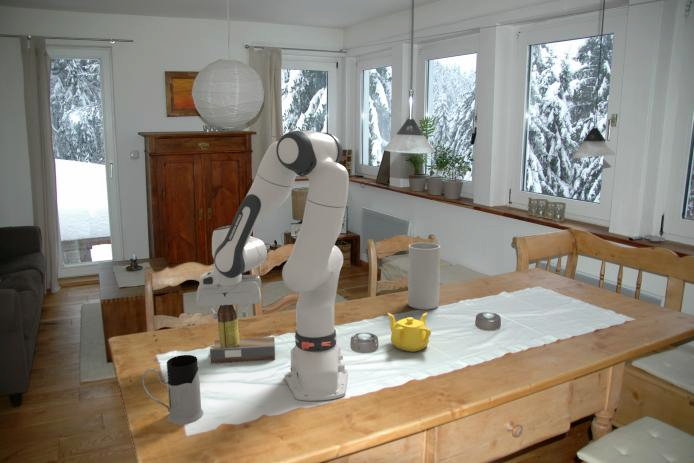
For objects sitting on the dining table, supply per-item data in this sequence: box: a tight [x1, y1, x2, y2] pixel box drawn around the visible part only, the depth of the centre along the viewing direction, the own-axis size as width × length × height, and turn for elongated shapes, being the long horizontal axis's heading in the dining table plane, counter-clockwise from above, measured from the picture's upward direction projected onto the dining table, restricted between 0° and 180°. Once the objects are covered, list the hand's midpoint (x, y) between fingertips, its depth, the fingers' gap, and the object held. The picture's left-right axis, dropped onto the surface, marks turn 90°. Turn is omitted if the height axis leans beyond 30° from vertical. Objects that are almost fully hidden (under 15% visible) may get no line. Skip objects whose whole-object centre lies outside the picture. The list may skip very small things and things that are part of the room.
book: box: [210, 336, 276, 365], centre depth 186 cm, size 16×20×2 cm
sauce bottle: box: [217, 292, 240, 348], centre depth 182 cm, size 6×6×20 cm
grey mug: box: [141, 354, 204, 425], centre depth 143 cm, size 9×14×15 cm, turn 106°
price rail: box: [209, 345, 276, 360], centre depth 178 cm, size 2×20×3 cm, turn 98°
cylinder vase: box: [407, 242, 441, 311], centre depth 229 cm, size 12×12×25 cm
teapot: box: [387, 312, 432, 353], centre depth 189 cm, size 14×13×10 cm
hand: (230, 317), depth 182 cm, fingers open, 8 cm apart
